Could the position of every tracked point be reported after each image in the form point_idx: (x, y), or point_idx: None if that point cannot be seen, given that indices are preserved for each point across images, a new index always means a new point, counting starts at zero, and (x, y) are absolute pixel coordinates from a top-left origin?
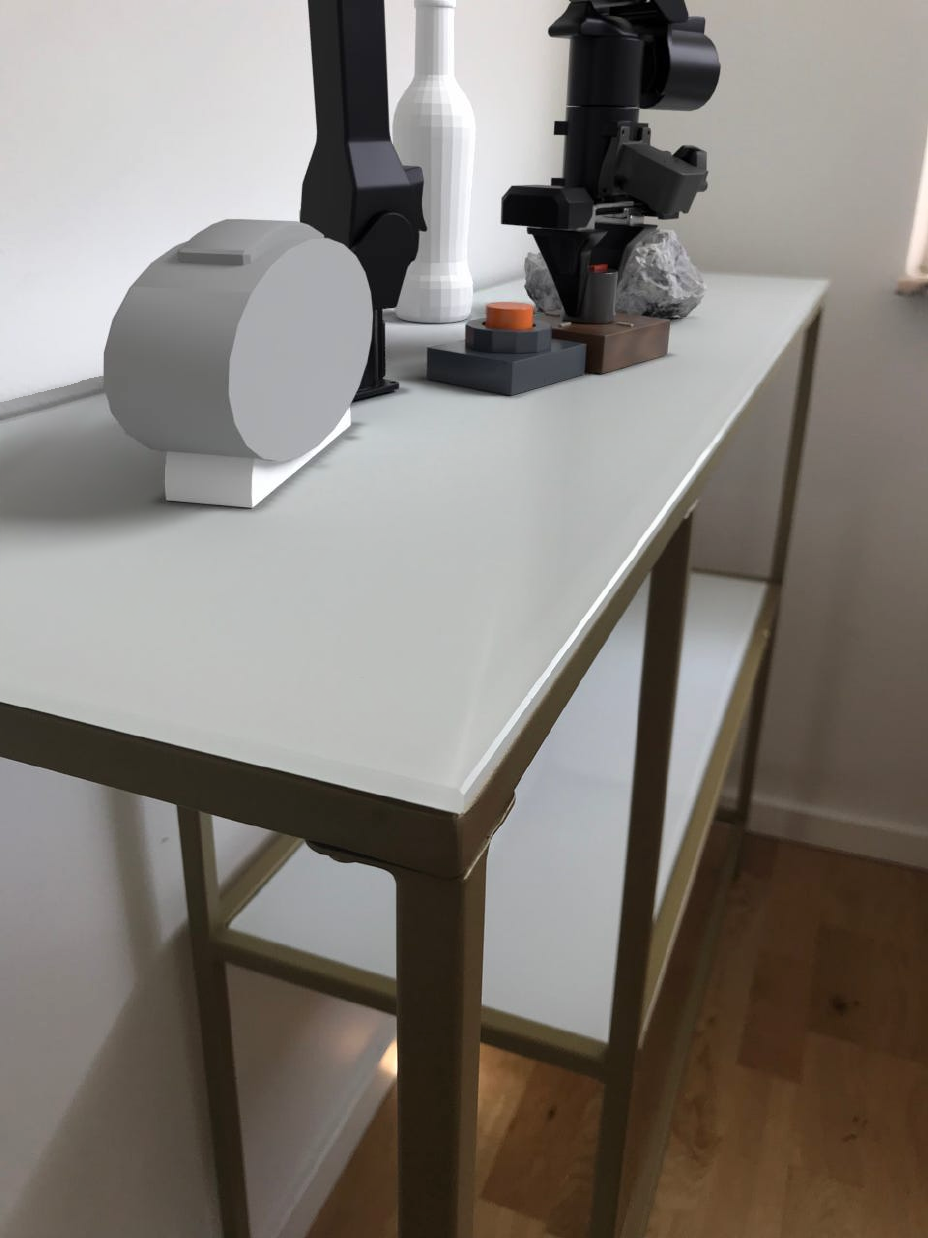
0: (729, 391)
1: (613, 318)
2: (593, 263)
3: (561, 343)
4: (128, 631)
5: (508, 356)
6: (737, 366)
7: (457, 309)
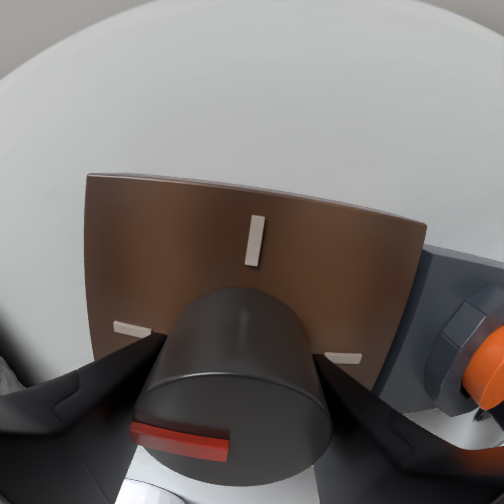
0: (370, 4)
1: (223, 290)
2: (125, 458)
3: (447, 293)
4: None
5: None
6: (157, 30)
7: (149, 493)
